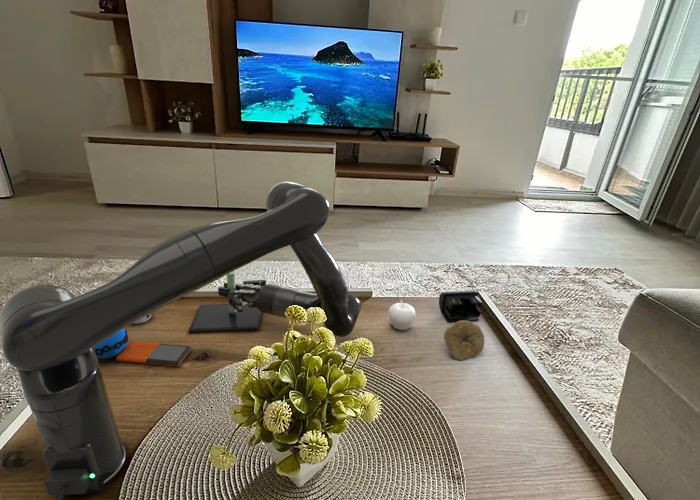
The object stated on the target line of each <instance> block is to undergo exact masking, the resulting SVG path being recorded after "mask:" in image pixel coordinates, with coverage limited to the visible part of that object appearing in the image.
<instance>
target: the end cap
mask: <svg viewBox="0 0 700 500" xmlns="http://www.w3.org/2000/svg"><path fill="white" fill-rule="evenodd" d="M438 306H439V310H440V312H441V315H442V316H443V318H444V319H445V321H446V322H447V323H448V324H449V323H450V324H451V323H453V324H454V323H456V322H458V321H470V322H479V319H480V318H479V317H481V314H482V311H481V310H480V308H481V309H482V308H483V302H482V301H481V299H480V298H479V292H478V291H477V290H462V291H460V290H459V291H443V292H441V293H440V294H439V296H438Z"/></svg>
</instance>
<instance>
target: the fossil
mask: <svg viewBox="0 0 700 500" xmlns="http://www.w3.org/2000/svg"><path fill="white" fill-rule="evenodd" d="M485 337H486V336H485V333H484V332H483V330H482V328H481V326H480V325H478V324H477V323H474V322H473V321H458V322H454V323H453V324H452V325H451V326H448V327H447V328H446V329H445V330H444V333H443V340H444V344H445V345H446V348H447V350H448V352H449V354H450V355H451V356H452V358H454V359H455V360H458V361H464V360H466V359H468V358H475V357H477V356H479V355H480V354H481V353H482V351H483V350H484V348H485V347H484V346H485Z"/></svg>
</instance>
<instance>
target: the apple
mask: <svg viewBox="0 0 700 500" xmlns="http://www.w3.org/2000/svg"><path fill="white" fill-rule="evenodd" d="M416 315H417V313H416V310H415V308H414V306H412V305H411V304H409V303H406V302H403V300H402V299H399V302H396V303H393V304H392V305H391V306H390V307H389V309H388V318H389V321H390V323H391V325H392V326H393V328H394V329H397V330H399V331H406V330H408V329H409V328H410V327H411V326H412V325H413V323H414V322H415V319H416V317H417V316H416Z"/></svg>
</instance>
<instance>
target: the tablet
mask: <svg viewBox="0 0 700 500" xmlns="http://www.w3.org/2000/svg"><path fill="white" fill-rule="evenodd" d="M236 312H237V314H236V316H233V317H231V316H229V307H228V303H215V304H213V303H212V304H209V303H208V304H200V305H199V307H198V309H197V312H196V314H195V316H194V317H193V320H192V322H191V324H190V327H189V329H188V332H189V334H205V333H207V334H208V333H210V334H211V333H237V332H239V333H240V332H258V331H259V326H260V321H261V315H262V312H260V310H259V309H258V308H250V307H245V308H243V311H242V312H238V311H237V310H236Z"/></svg>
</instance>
